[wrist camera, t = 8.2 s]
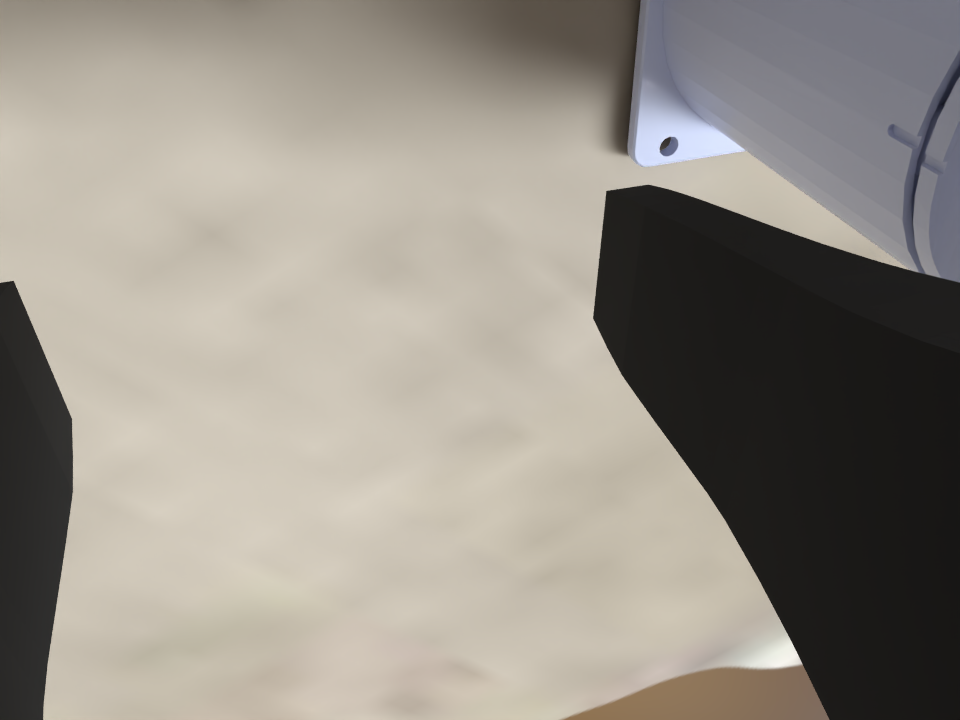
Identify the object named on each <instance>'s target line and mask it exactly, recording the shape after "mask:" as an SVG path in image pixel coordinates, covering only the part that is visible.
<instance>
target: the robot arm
mask: <svg viewBox="0 0 960 720" xmlns="http://www.w3.org/2000/svg"><path fill="white" fill-rule="evenodd" d="M668 137H671V141H670V144H669V145H668V146H667V147H666V148H665V149H663V150H660V149H659V148H660V145H661V143H662V142H663V141H664V140H665V139H666V138H668ZM627 148H628V154H629V156H630V158H631V159H632V160H633V161H634V162H635V163H636V164H638V165H640V166H641V167H651V166H657V165H663V164H669V163H675V162H682V161H688V160H694V159H700V158H706V157H712V156H718V155H724V154H730V153H737V152H743V151H747V152H749V153H750V154H751V155H753V156H754V157H755V158H757V159H758V160H760V161H761V162H762V163H764V164H765V165H767V166H768V167H769V168H771V169H772V170H773V171H775V172H776V173H778V174H779V175H780V176H782V177H783V178H784V179H786V180H787V181H789V182H790V183H791V184H793V185H794V186H795V187H797V188H798V189H800V190H801V191H802V192H804V193H805V194H806V195H808V196H809V197H811V198H812V199H813V200H815V201H816V202H817V203H819V204H820V205H822V206H823V207H824V208H826V209H827V210H828V211H830V212H831V213H833V214H834V215H835V216H837V217H838V218H840V219H841V220H842V221H844V222H845V223H846V224H848V225H849V226H851V227H852V228H853V229H855V230H856V231H857V232H859V233H860V234H862V235H863V236H864V237H866V238H867V239H868V240H870V241H871V242H873V243H874V244H875V245H877V246H878V247H879V248H881V249H882V250H884V251H885V252H886V253H888V254H889V255H890V256H892V257H893V258H895V259H896V260H897V261H899V262H900V263H901V264H903V265H904V266H906V267H907V268H908V269H910V270H907V269H903V268H899V267H896V266H892V265H889V264H885V263H881V262H878V261H875V260H871V259H868V258H865V257H862V256H859V255H856V254H852V253H849V252H846V251H843V250H840V249H837V248H834V247H830V246H827V245H824V244H821V243H818V242H815V241H813V240H810V239H807V238H804V237H801V236H798V235H795V234H792V233H790V232H787V231H784V230H781V229H779V228H776V227H773V226H770V225H768V224H765V223H762V222H759V221H757V220H754V219H751V218H749V217H746V216H743V215H741V214H738V213H735V212H732V211H730V210H727V209H724V208H722V207H719V206H716V205H713V204H711V203H708V202H705V201H702V200H700V199H697V198H694V197H691V196H688V195H685V194H682V193H679V192H675V191H672V190H668V189H665V188H661V187H656V186H652V185H643V186H637V187H630V188H624V189H617V190H610V191H606V201H605V210H604V220H603V230H602V239H601V249H600V258H599V268H598V277H597V287H596V296H595V306H594V316H593V319H594V321H595V323H596V325H597V327H598V329H599V331H600V333H601V335H602V338H603V340H604V342H605V344H606V346H607V348H608V350H609V352H610V354H611V355H612V357H613V359H614V361H615V363H616V365H617V367H618V368H619V370H620V372H621V374H622V376H623V377H624V379H625V380H626V381H627V383H628V384H629V386H630V387H631V389H632V390H633V391H634V393H635V394H636V396H637V397H638V398H639V400H640V401H641V403H642V404H643V405H644V407H645V408H646V410H647V411H648V412H649V414H650V415H651V417H652V418H653V419H654V421H655V422H656V424H657V425H658V426H659V428H660V429H661V430H662V432H663V433H664V434H665V436H666V437H667V439H668V440H669V441H670V443H671V444H672V445H673V447H674V448H675V449H676V451H677V452H678V454H679V455H680V456H681V458H682V459H683V460H684V462H685V463H686V465H687V466H688V467H689V469H690V470H691V471H692V473H693V474H694V475H695V477H696V478H697V480H698V481H699V482H700V484H701V485H702V486H703V488H704V489H705V491H706V492H707V493H708V495H709V496H710V498H711V499H712V501H713V502H714V504H715V505H716V507H717V509H718V510H719V512H720V513H721V515H722V516H723V518H724V519H725V521H726V522H727V524H728V526H729V528H730V530H731V531H732V533H733V535H734V537H735V538H736V540H737V542H738V544H739V545H740V547H741V549H742V551H743V552H744V554H745V556H746V558H747V559H748V561H749V563H750V565H751V566H752V568H753V570H754V572H755V573H756V575H757V577H758V579H759V581H760V582H761V584H762V586H763V588H764V590H765V592H766V594H767V596H768V598H769V600H770V601H771V603H772V605H773V607H774V609H775V611H776V613H777V615H778V617H779V618H780V620H781V622H782V624H783V626H784V628H785V630H786V632H787V634H788V636H789V637H790V639H791V641H792V643H793V645H794V647H795V649H796V651H797V653H798V655H799V657H800V660H801V662H802V664H803V666H804V668H805V670H806V672H807V674H808V676H809V678H810V680H811V682H812V684H813V686H814V688H815V691H816V692H817V695H818V697H819V699H820V701H821V703H822V705H823V707H824V709H825V711H826V713H827V715H828V717H829V719H830V720H960V0H641V3H640V14H639V25H638V36H637V47H636V58H635V69H634V80H633V91H632V102H631V113H630V124H629V135H628V146H627ZM72 493H73V447H72V418H71V416H70V413H69V411H68V409H67V406H66V404H65V402H64V399H63V397H62V394H61V392H60V390H59V387H58V385H57V383H56V380H55V378H54V375H53V373H52V371H51V368H50V366H49V364H48V361H47V359H46V356H45V354H44V352H43V349H42V347H41V345H40V342H39V340H38V338H37V335H36V333H35V330H34V328H33V326H32V323H31V321H30V319H29V316H28V314H27V311H26V309H25V307H24V304H23V302H22V300H21V297H20V295H19V292H18V290H17V288H16V285H15V283H14V281H10V282H3V283H0V720H43V704H44V694H45V684H46V674H47V663H48V657H49V650H50V644H51V637H52V630H53V624H54V617H55V610H56V604H57V597H58V591H59V584H60V577H61V571H62V564H63V558H64V551H65V544H66V537H67V530H68V523H69V516H70V509H71V501H72Z"/></svg>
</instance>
